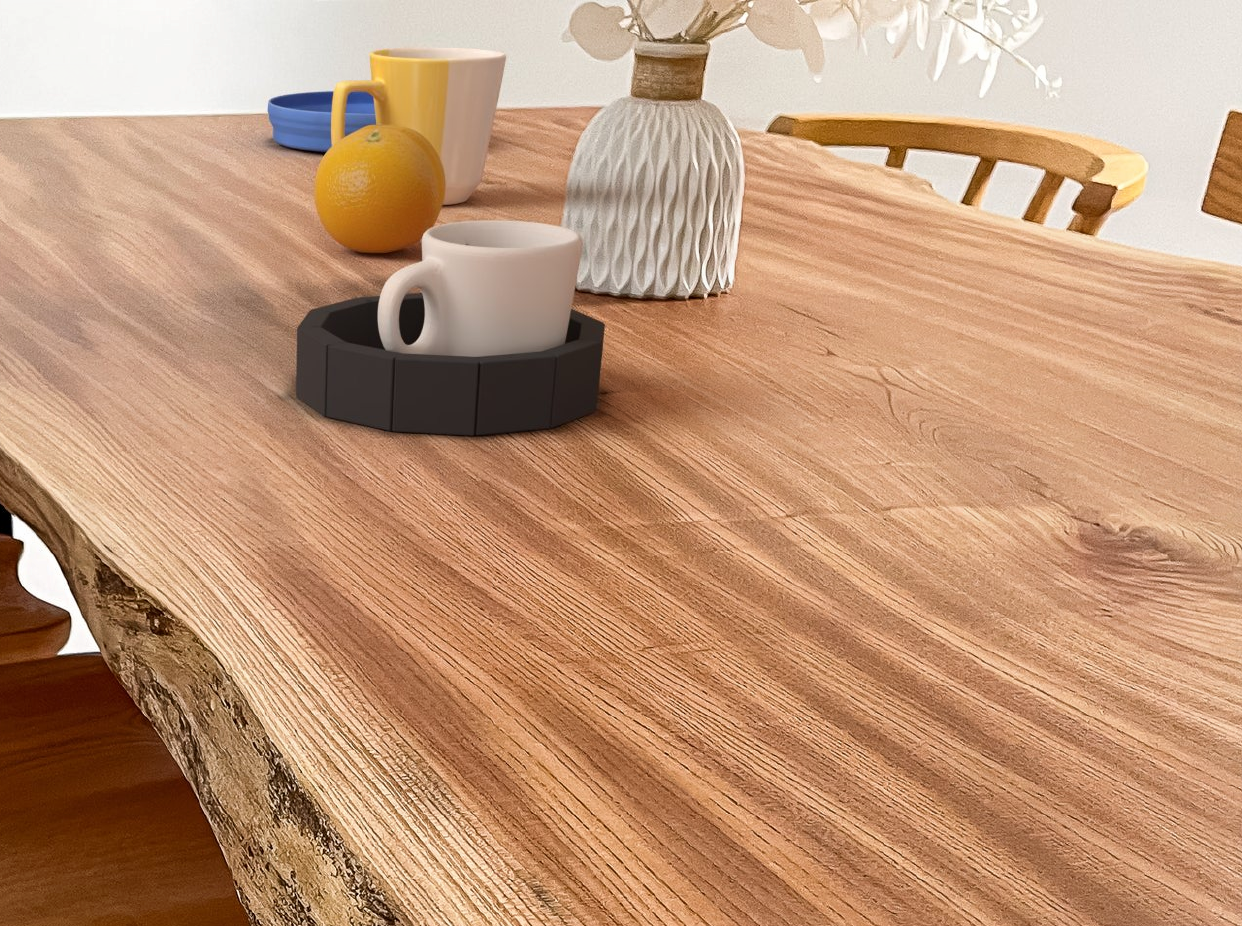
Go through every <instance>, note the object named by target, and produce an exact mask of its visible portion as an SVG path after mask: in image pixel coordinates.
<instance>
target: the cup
mask: <svg viewBox="0 0 1242 926" xmlns="http://www.w3.org/2000/svg"><path fill="white" fill-rule="evenodd" d="M583 244H584V242H583V238H582V235H581V234H579V233H578V232H577V231H575V230H573V229H570V228H567V227H564V226H559V225H556V224H551V223H543V222H535V221H534V222H533V221H523V220H503V219H499V220H498V219H497V220H496V219H486V220H485V219H483V220H480V219H479V220H465V221H456V222H455V221H454V222H447V223H444V224H443V223H442V224H438V225H434V226H433V227H432V228H430V229H428V230H427V231H426V232H425V233H424V234H423V237H422V239H421V261H419V262H415V263H411V264H409V265H406V266H404V267H402V268H400V269H399V270H397V271H395V272H394V273H393V274H391V276H390V277H389V278H387V280H386V281H385V283H384V285H383V286H382V289H381V292H380V295H379V296H380V299H379V305H378V328H379V333H380V338H381V341H382V343H383V346H384V348H385V350H388V351H393V352H398V353H405V354H427V355H448V356H469V357H481V356H493V355H505V354H517V353H528V352H540V351H544V350H547V349H550V348H553V347H557V346H560V345H563V344H565V340H566V335H567V329H568V324H569V318H570V313H571V309H572V306H573V303H574V297H575V291H576V286H577V279H578V274H579V269H580V264H581V258H582V252H583ZM415 288H419V290H420V292H421V293H422V294H423V299H424V306H425V319H424V326H423V330H422V333H421V335H420V337H419V339H418V340H417V341H416V342H415V343H413V344H412V345H406V344H405V343H404V342H403V340H402V338H401V335H400V330H399V311H400V306H401V303H402V300H403V298H404V296H405V295H406V294H408V292H410V291H411V290H412V289H415Z"/></svg>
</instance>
